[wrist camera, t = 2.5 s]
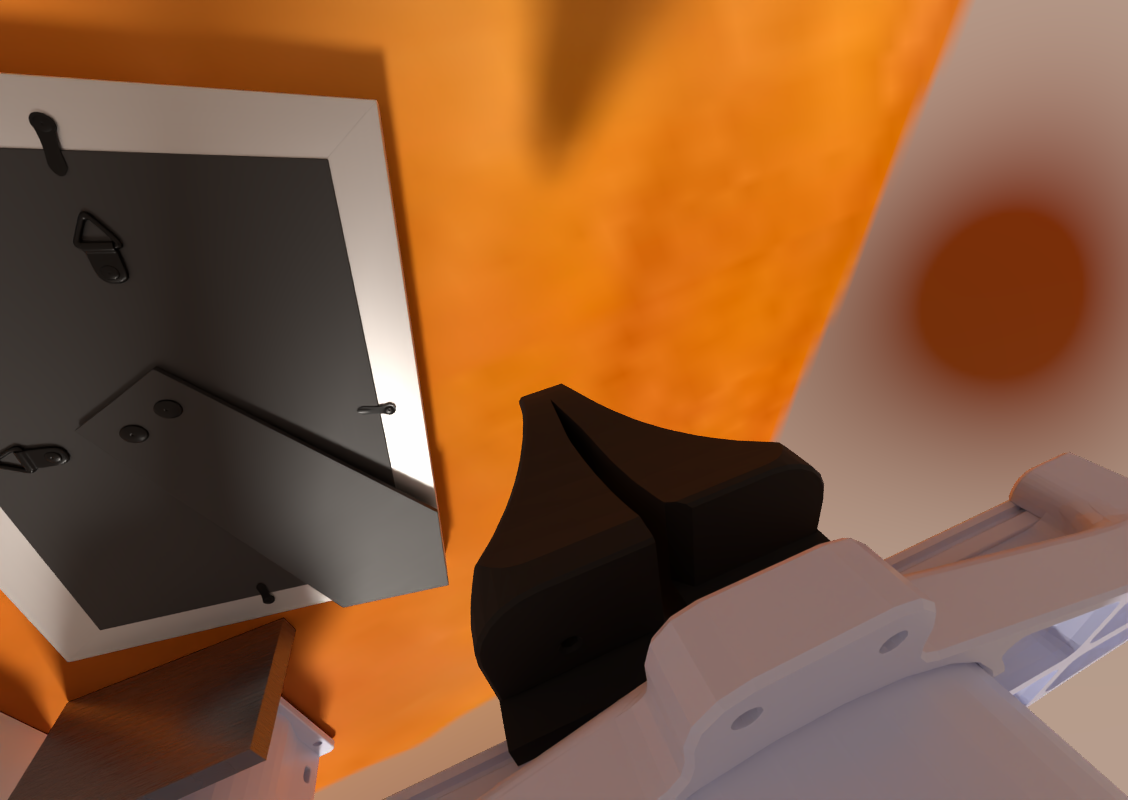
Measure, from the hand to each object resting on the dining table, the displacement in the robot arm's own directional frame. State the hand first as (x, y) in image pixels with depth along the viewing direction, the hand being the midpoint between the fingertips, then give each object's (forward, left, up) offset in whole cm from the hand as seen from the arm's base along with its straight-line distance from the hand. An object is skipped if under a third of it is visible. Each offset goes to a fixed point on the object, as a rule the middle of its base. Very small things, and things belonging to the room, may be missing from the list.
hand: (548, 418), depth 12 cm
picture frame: (0, +12, -8) cm, 14 cm away
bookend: (-12, +20, -8) cm, 25 cm away
